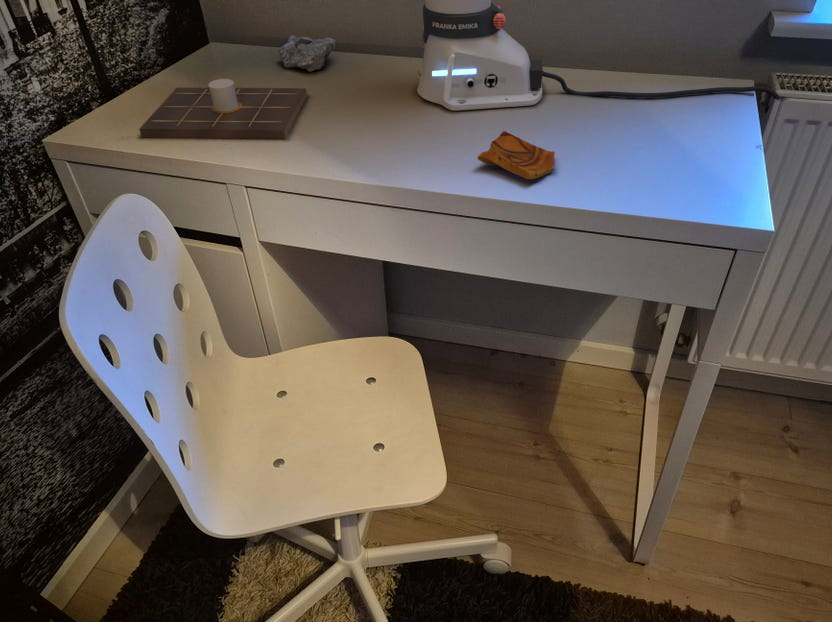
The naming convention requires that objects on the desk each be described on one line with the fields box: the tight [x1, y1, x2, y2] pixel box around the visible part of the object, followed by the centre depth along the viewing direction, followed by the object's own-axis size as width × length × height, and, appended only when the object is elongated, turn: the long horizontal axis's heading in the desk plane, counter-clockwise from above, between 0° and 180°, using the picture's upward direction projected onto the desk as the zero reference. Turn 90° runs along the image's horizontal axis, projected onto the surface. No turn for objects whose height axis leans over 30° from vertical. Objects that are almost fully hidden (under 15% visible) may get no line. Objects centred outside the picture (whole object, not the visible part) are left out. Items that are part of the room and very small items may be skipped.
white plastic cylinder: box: [207, 78, 239, 112], centre depth 113 cm, size 4×4×4 cm
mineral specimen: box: [277, 34, 337, 72], centre depth 132 cm, size 6×11×12 cm
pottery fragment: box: [477, 130, 556, 180], centre depth 97 cm, size 10×5×10 cm
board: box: [139, 87, 308, 140], centre depth 115 cm, size 24×18×2 cm
